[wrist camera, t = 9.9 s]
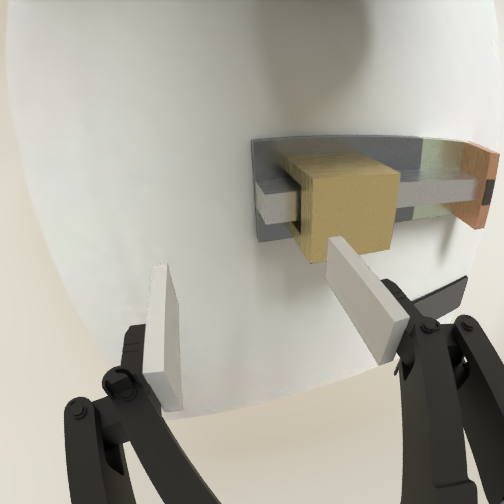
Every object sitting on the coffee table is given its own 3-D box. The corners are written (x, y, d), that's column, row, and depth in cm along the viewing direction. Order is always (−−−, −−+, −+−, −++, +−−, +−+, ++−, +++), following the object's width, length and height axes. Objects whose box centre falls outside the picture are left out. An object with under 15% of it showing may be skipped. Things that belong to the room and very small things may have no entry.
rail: (257, 238, 28) (270, 267, 24) (251, 140, 23) (265, 152, 19) (458, 210, 31) (484, 228, 27) (470, 141, 27) (500, 154, 22)
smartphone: (459, 307, 42) (390, 342, 41) (456, 303, 43) (388, 338, 42) (469, 275, 38) (396, 311, 37) (465, 272, 39) (393, 307, 38)
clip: (286, 227, 27) (310, 263, 22) (285, 156, 24) (313, 179, 19) (355, 217, 28) (389, 249, 23) (360, 152, 25) (400, 173, 19)
